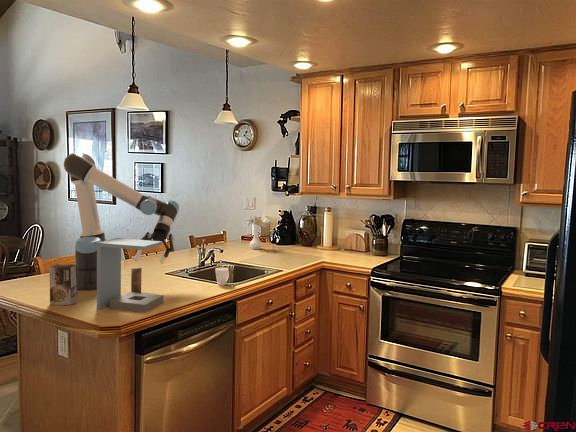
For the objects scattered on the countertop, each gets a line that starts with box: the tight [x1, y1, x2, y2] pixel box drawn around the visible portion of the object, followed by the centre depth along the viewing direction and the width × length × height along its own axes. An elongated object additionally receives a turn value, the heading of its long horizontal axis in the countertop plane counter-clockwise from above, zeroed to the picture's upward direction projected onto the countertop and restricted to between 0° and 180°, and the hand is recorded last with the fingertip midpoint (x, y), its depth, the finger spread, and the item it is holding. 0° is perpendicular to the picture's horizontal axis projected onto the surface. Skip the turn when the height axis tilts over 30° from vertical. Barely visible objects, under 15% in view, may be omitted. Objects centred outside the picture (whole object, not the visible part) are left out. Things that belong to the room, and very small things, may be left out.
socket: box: [109, 291, 165, 313], centre depth 202 cm, size 16×16×3 cm
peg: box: [130, 266, 143, 293], centre depth 220 cm, size 4×4×12 cm
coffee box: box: [48, 263, 78, 306], centre depth 200 cm, size 9×6×16 cm
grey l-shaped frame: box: [96, 237, 163, 310], centre depth 198 cm, size 21×15×28 cm
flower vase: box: [246, 215, 269, 250], centre depth 362 cm, size 13×18×25 cm
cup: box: [214, 267, 230, 286], centre depth 246 cm, size 7×10×8 cm
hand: (148, 261), depth 228 cm, fingers open, 13 cm apart
